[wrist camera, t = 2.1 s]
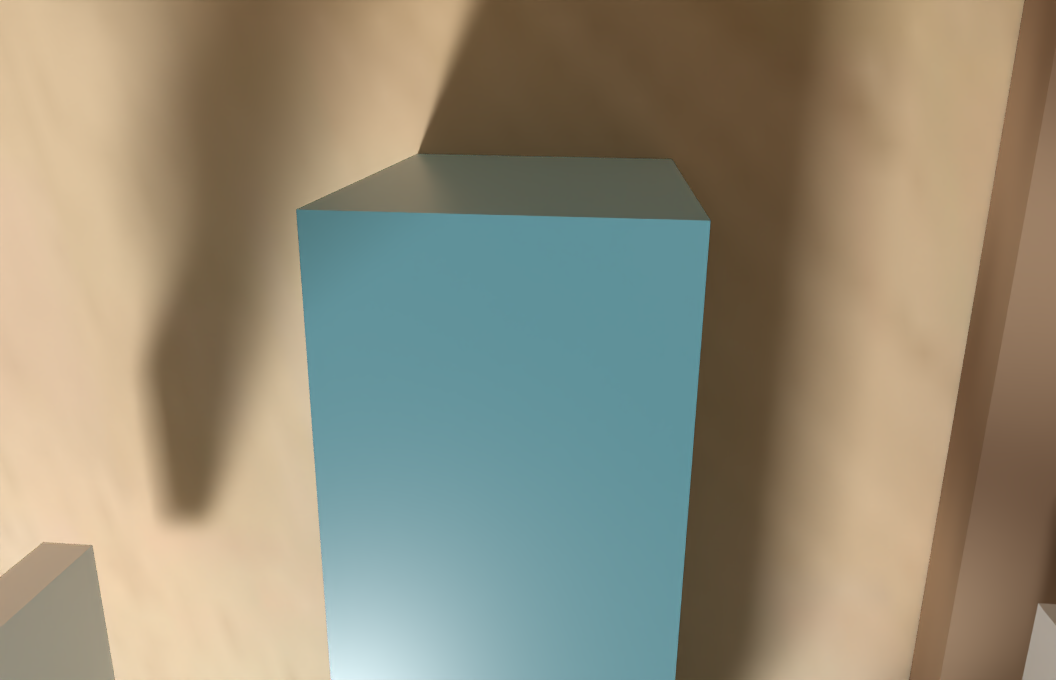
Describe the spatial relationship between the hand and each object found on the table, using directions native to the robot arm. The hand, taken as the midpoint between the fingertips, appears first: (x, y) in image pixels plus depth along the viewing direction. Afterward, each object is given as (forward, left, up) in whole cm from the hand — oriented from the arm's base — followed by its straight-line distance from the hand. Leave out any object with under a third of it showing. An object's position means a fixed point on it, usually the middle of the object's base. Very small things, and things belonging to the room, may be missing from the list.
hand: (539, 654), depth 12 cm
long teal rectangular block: (0, 0, -2) cm, 2 cm away
